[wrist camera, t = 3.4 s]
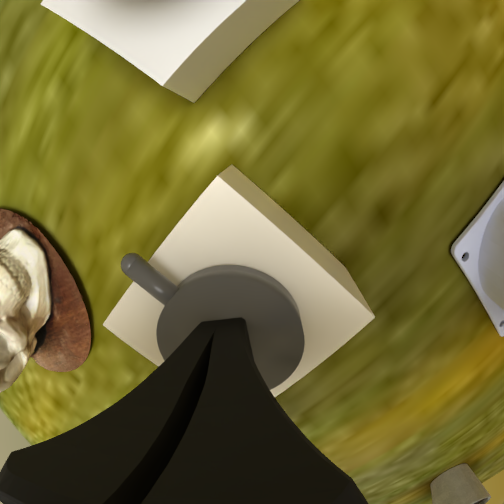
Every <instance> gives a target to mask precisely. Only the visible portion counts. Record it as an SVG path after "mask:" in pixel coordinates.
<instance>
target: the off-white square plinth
mask: <svg viewBox="0 0 504 504" xmlns="http://www.w3.org/2000/svg"><path fill="white" fill-rule="evenodd" d="M148 263H149V264H150V265H151V266H153V267H154V268H155V269H156V270H158V271H159V272H160V273H161V274H162V275H164V276H165V277H166V278H167V279H169V280H170V281H171V282H172V283H174V284H175V285H176V286H177V285H178V284H179V283H180V282H181V281H183V280H184V279H185V278H187V277H188V276H189V275H191V274H193V273H195V272H197V271H199V270H202V269H205V268H208V267H213V266H219V265H238V266H245V267H249V268H253V269H256V270H258V271H261V272H263V273H265V274H267V275H269V276H271V277H273V278H274V279H275V280H277V281H278V282H280V283H281V284H282V285H283V286H284V287H285V288H286V289H287V290H288V292H289V293H290V294H291V295H292V297H293V299H294V300H295V302H296V304H297V307H298V309H299V313H300V317H301V322H302V327H303V332H304V340H305V345H304V352H303V355H302V359H301V361H300V363H299V365H298V367H297V368H296V370H295V371H294V372H293V373H292V375H291V376H290V377H289V378H288V379H286V380H285V381H284V382H283V383H281V384H280V385H278V386H277V387H275V388H273V389H271V390H270V391H271V393H272V394H273V396H274V397H276V396H278V395H279V394H280V393H282V392H283V391H285V390H286V389H287V388H289V387H290V386H292V385H293V384H294V383H296V382H297V381H298V380H300V379H301V378H302V377H304V376H305V375H306V374H308V373H309V372H310V371H311V370H313V369H314V368H315V367H317V366H318V365H319V364H320V363H322V362H323V361H324V360H325V359H327V358H328V357H329V356H330V355H332V354H333V353H334V352H335V351H337V350H338V349H339V348H340V347H341V346H343V345H344V344H345V343H346V342H347V341H349V340H350V339H351V338H352V337H353V336H354V335H356V334H357V333H358V332H359V331H360V330H361V329H362V328H364V327H365V326H366V325H367V324H368V323H369V322H370V321H371V320H373V319H374V318H375V316H374V314H373V312H372V311H371V309H370V307H369V306H368V304H367V302H366V300H365V299H364V297H363V295H362V294H361V292H360V290H359V289H358V287H357V285H356V284H355V282H354V281H353V279H352V277H351V276H350V274H349V272H348V271H347V269H346V268H345V266H344V265H343V264H341V263H340V262H339V261H338V260H337V259H336V258H335V257H334V256H333V255H332V254H331V253H330V252H329V251H328V250H327V249H326V248H325V247H324V246H323V245H321V244H320V243H319V242H318V241H317V240H316V239H315V238H314V237H313V236H312V235H311V234H310V233H309V232H307V231H306V230H305V229H304V228H303V227H302V226H301V225H300V224H299V223H298V222H297V221H296V220H294V219H293V218H292V217H291V216H290V215H289V214H288V213H287V212H286V211H284V210H283V209H282V208H281V207H280V206H279V205H278V204H277V203H276V202H274V201H273V200H272V199H271V198H270V197H269V196H268V195H267V194H265V193H264V192H263V191H262V190H261V189H260V188H259V187H257V186H256V185H255V184H254V183H253V182H252V181H251V180H249V179H248V178H247V177H246V176H245V175H244V174H242V173H241V172H240V171H239V170H238V169H237V168H235V167H234V166H233V165H230V166H229V167H228V168H227V169H225V170H224V171H223V172H221V173H220V174H219V175H218V176H217V177H216V178H215V179H214V180H213V181H212V183H211V184H210V185H209V186H208V187H207V189H206V190H205V191H204V192H203V193H202V194H201V196H200V197H199V198H198V199H197V200H196V202H195V203H194V204H193V205H192V207H191V208H190V209H189V210H188V211H187V213H186V214H185V215H184V216H183V218H182V219H181V220H180V221H179V223H178V224H177V225H176V226H175V228H174V229H173V230H172V231H171V233H170V234H169V235H168V236H167V238H166V239H165V240H164V242H163V243H162V244H161V245H160V247H159V248H158V249H157V251H156V252H155V253H154V255H153V256H152V257H151V258H150V260H149V261H148ZM163 308H164V305H163V304H162V303H161V302H159V301H158V300H157V299H155V298H154V297H153V296H152V295H150V294H149V293H148V292H147V291H145V290H144V289H143V288H142V287H140V286H139V285H138V284H137V283H136V282H134V281H133V283H132V284H131V285H130V287H129V288H128V289H127V291H126V292H125V294H124V295H123V296H122V298H121V299H120V301H119V302H118V303H117V305H116V306H115V308H114V309H113V311H112V312H111V313H110V315H109V316H108V318H107V319H106V321H105V322H104V324H103V325H104V326H105V327H106V328H107V329H109V330H110V331H111V332H112V333H114V334H115V335H116V336H118V337H119V338H120V339H121V340H123V341H124V342H125V343H127V344H128V345H129V346H131V347H132V348H133V349H135V350H136V351H137V352H139V353H140V354H142V355H143V356H144V357H146V358H147V359H149V360H150V361H151V362H153V363H154V364H156V365H157V366H158V367H159V366H160V365H161V364H162V363H163V362H164V359H163V357H162V355H161V353H160V350H159V347H158V343H157V336H156V330H157V323H158V319H159V316H160V314H161V312H162V310H163Z"/></svg>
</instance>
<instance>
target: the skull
mask: <svg viewBox="0 0 504 504" xmlns="http://www.w3.org/2000/svg"><path fill="white" fill-rule="evenodd" d="M82 298H83V297H82V294H80V292H79V290H78V288H77V285H76V283H75V280H73V276H72V275H71V274H70V272H69V270H68V268H67V267H66V265H65V264H64V262H63V261H62V259H61V257H60V256H59V254H58V253H57V252H56V250H55V249H54V248H53V246H52V245H51V244H50V243H49V241H48V240H47V239H46V238H45V236H44V235H43V234H42V233H41V232H40V230H38V228H37V227H34V226H33V225H32V223H31V222H29V221H28V220H27V219H26V218H24V217H21V216H20V215H18V214H17V213H13V212H12V211H9V210H4V209H2V208H0V392H2V391H4V390H5V389H7V388H9V387H10V386H11V385H12V384H13V382H15V381H16V379H17V378H18V376H19V375H20V374H21V372H22V370H23V369H24V368H25V366H26V364H27V362H28V360H29V358H30V357H33V358H34V359H36V362H37V363H38V364H39V365H41V366H43V367H44V368H45V369H47V370H52V371H57V372H66V371H71V370H74V369H76V368H78V367H79V366H80V365H82V364H83V363H84V361H85V360H86V358H87V356H88V353H89V350H90V345H91V332H90V321H89V318H88V314H87V311H86V308H85V304H84V302H83V300H82ZM33 351H34V353H33ZM32 353H33V354H32Z"/></svg>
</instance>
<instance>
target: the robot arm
mask: <svg viewBox="0 0 504 504" xmlns="http://www.w3.org/2000/svg"><path fill="white" fill-rule="evenodd" d="M451 253H452V256H453V257H454V259H455V260H456V262H457V263H458V265H459V266H460V268H461V269H462V271H463V273H464V274H465V276H466V277H467V279H468V281H469V282H470V284H471V285H472V287H473V289H474V290H475V292H476V294H477V295H478V297H479V299H480V301H481V302H482V304H483V306H484V308H485V309H486V311H487V313H488V315H489V317H490V319H491V320H492V322H493V324H494V326H495V328H496V330H497V332H498V334H499V335H500V336H501V337H502V336H504V181H503V182H502V183H501V185H500V186H499V187H498V189H497V190H496V192H495V193H494V194H493V196H492V197H491V198H490V199H489V201H488V202H487V203H486V205H485V206H484V207H483V208H482V210H481V211H480V212H479V213H478V215H477V216H476V217H475V218H474V220H473V221H472V222H471V223H470V224H469V226H468V227H467V228H466V229H465V230H464V232H463V233H462V234H461V235H460V236H459V237H458V239H457V240H456V241H455V242H454V243H453V245H452V248H451ZM464 253H465V256H464V258H462V255H463V254H464ZM0 501H1V502H2V503H3V504H368V502H367V501H366V499H365V498H364V496H363V494H362V493H361V492H360V490H359V489H358V487H357V486H356V484H355V483H354V481H353V480H352V478H351V477H349V476H348V475H347V474H346V473H344V472H343V471H342V470H341V469H340V468H338V467H337V466H336V465H335V464H334V463H333V462H331V461H330V460H329V459H328V458H327V457H326V456H325V455H324V454H322V453H321V452H320V451H319V450H318V449H317V448H316V447H315V446H314V445H313V444H312V443H311V442H310V441H309V440H308V439H307V438H306V436H305V435H304V434H303V433H302V432H301V431H300V429H299V428H298V427H297V426H296V425H295V424H294V422H293V421H292V420H291V419H290V418H289V417H288V415H287V414H286V413H285V411H284V410H283V409H282V407H281V406H280V405H279V403H278V402H277V400H276V399H275V397H274V396H273V394H272V393H271V391H270V390H269V388H268V386H267V385H266V383H265V381H264V379H263V378H262V376H261V374H260V372H259V370H258V368H257V366H256V364H255V361H254V357H253V353H252V348H251V344H250V339H249V334H248V330H247V325H246V320H244V319H243V318H242V317H239V318H230V319H222V320H213V321H203V322H201V323H200V324H199V325H198V326H197V327H196V328H195V329H194V330H193V331H192V332H191V333H190V334H189V335H188V337H187V338H186V339H185V340H184V341H183V342H182V343H181V344H180V345H179V346H178V347H177V349H176V350H175V351H174V352H173V353H172V354H171V355H170V356H169V357H168V358H167V359H166V360H165V361H164V362H163V363H162V364H161V365H160V366H159V367H158V368H157V369H156V370H155V371H154V372H153V373H152V374H150V375H149V376H148V377H147V378H146V379H145V380H144V381H143V382H142V383H141V384H140V385H138V386H137V387H136V388H135V389H133V390H132V391H131V392H130V393H128V394H127V395H126V396H124V397H123V398H122V399H120V400H119V401H118V402H116V403H115V404H114V405H112V406H111V407H109V408H107V409H106V410H104V411H103V412H101V413H99V414H98V415H96V416H95V417H93V418H91V419H90V420H88V421H86V422H85V423H83V424H81V425H79V426H77V427H75V428H73V429H71V430H69V431H67V432H65V433H63V434H61V435H58V436H56V437H54V438H52V439H49V440H47V441H44V442H41V443H38V444H35V445H32V446H30V447H26V448H23V449H20V450H17V451H14V452H11V454H10V455H9V457H8V459H7V461H6V463H5V464H4V466H3V468H2V470H1V472H0Z"/></svg>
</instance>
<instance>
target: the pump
mask: <svg viewBox="0 0 504 504" xmlns="http://www.w3.org/2000/svg"><path fill="white" fill-rule="evenodd" d="M121 268H122V271H123V272H124V273H125V274H126V275H127V276H128V277H129V278H131V279H132V280H133V281H134V282H136V283H137V284H138V285H139V286H140V287H142V288H143V289H144V290H145V291H147V292H148V293H149V294H150V295H152V296H153V297H154V298H155V299H157V300H158V301H159V302H161V303H162V304H163V305H164V308H163V310H162V312H161V314H160V316H159V319H158V323H157V330H156V336H157V343H158V347H159V350H160V353H161V355H162V357H163V359H164V361H165V360H166V359H167V358H168V357H169V356H170V355H171V354H172V353H173V352H174V351H175V350H176V349H177V347H178V346H179V345H180V344H181V343H182V342H183V341H184V340H185V339H186V338H187V337H188V335H189V334H190V333H191V332H192V331H193V330H194V329H195V328H196V327H197V326H198V325H199V324H200V323H201V322H203V321H213V320H222V319H230V318H239V317H242V318H243V319H244V320H246V325H247V330H248V334H249V339H250V344H251V348H252V353H253V357H254V361H255V364H256V366H257V368H258V370H259V372H260V374H261V376H262V378H263V379H264V381H265V383H266V385H267V386H268V388H269V390H271V389H273V388H275V387H277V386H278V385H280V384H281V383H283V382H284V381H285V380H286V379H288V378H289V377H290V376H291V375H292V373H293V372H294V371H295V370H296V368H297V367H298V365H299V363H300V361H301V359H302V355H303V352H304V345H305V340H304V332H303V327H302V322H301V317H300V313H299V309H298V307H297V304H296V302H295V300H294V299H293V297H292V295H291V294H290V293H289V292H288V290H287V289H286V288H285V287H284V286H283V285H282V284H281V283H280V282H278V281H277V280H275V279H274V278H273V277H271V276H269V275H267V274H265V273H263V272H261V271H258V270H256V269H253V268H249V267H245V266H238V265H219V266H213V267H208V268H205V269H202V270H199V271H197V272H195V273H193V274H191V275H189V276H188V277H187V278H185V279H184V280H183V281H181V282H180V283H179V284H178V285H177V286H176V285H175V284H174V283H172V282H171V281H170V280H169V279H167V278H166V277H165V276H164V275H162V274H161V273H160V272H159V271H158V270H156V269H155V268H154V267H153V266H151V265H150V264H149V263H148V262H147V261H145V260H144V259H143V258H142V257H141V256H139V255H138V254H136V253H129V254H126V255H125V256H124V257H123V259H122V261H121Z"/></svg>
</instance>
